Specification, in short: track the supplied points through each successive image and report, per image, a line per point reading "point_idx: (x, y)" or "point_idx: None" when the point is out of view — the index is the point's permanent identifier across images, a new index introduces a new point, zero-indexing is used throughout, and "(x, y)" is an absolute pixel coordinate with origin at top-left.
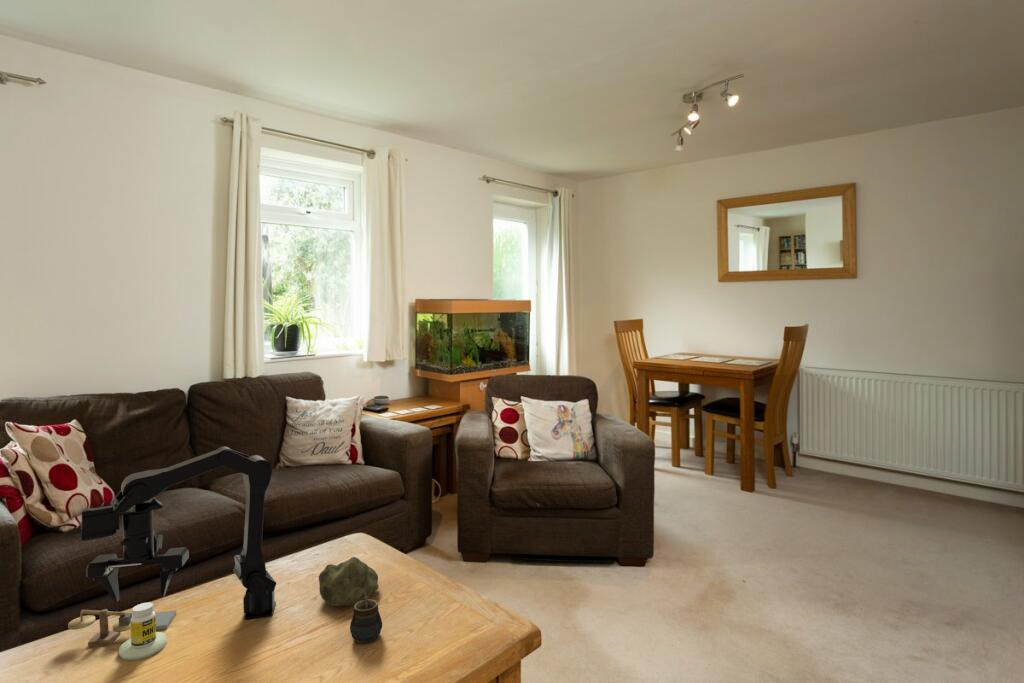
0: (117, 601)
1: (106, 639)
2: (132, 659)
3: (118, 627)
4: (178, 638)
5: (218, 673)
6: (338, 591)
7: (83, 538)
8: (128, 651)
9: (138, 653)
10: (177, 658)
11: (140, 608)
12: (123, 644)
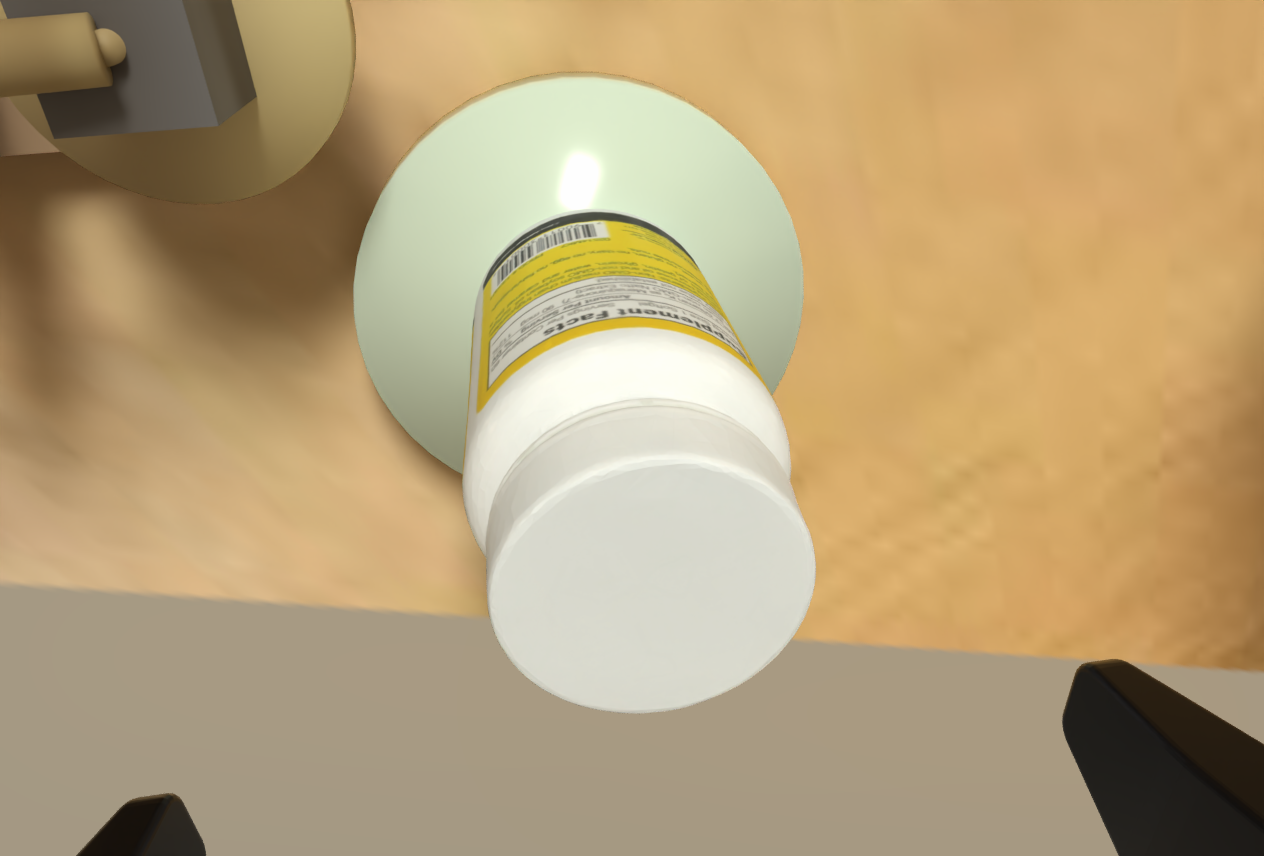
0: (201, 845)
1: (45, 143)
2: None
3: (130, 136)
4: (885, 163)
5: (1209, 660)
6: None
7: None
8: None
9: None
10: (937, 488)
11: (643, 654)
12: (372, 315)
